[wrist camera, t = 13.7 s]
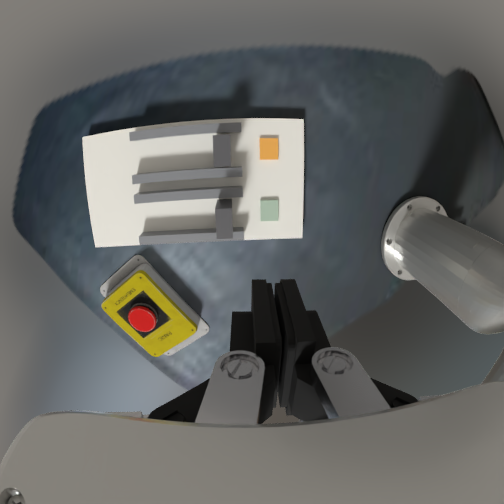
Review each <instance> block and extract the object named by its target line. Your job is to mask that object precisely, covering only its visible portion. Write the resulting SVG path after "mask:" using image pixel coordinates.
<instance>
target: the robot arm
mask: <svg viewBox="0 0 504 504" xmlns="http://www.w3.org/2000/svg"><path fill="white" fill-rule="evenodd" d="M381 251H382V257H383V260H384V263H385V265H386V266H387V268H388V269H389V270H390V271H391V272H392V273H393V274H394V275H395V276H396V277H398V278H401V279H403V280H415V279H416V280H418V281H419V282H420V283H421V284H422V285H423V286H424V287H426V288H427V289H428V290H429V291H430V292H431V293H432V294H434V295H435V296H436V297H437V298H438V299H439V300H440V301H441V302H443V303H444V304H445V305H446V306H447V307H448V308H449V309H450V310H451V311H452V312H453V313H454V314H455V315H456V316H458V317H459V318H460V319H461V320H462V321H463V322H464V323H465V324H466V325H467V326H468V327H470V328H471V329H472V330H474V331H476V332H479V333H482V334H494V333H499V332H504V245H503V244H501V243H500V242H498V241H496V240H494V239H492V238H490V237H488V236H486V235H484V234H482V233H480V232H478V231H476V230H474V229H472V228H470V227H468V226H466V225H464V224H462V223H460V222H457V221H455V220H453V219H451V218H449V217H448V216H447V214H446V211H445V210H444V208H443V207H442V205H441V204H439V203H438V202H437V201H436V200H434V199H432V198H429V197H425V196H416V197H412V198H410V199H407V200H405V201H404V202H403V203H401V204H400V205H399V206H398V207H397V208H396V209H395V210H394V211H393V213H392V214H391V215H390V217H389V219H388V221H387V223H386V225H385V228H384V231H383V234H382V240H381ZM277 392H278V396H279V403H280V407H285V408H286V414H287V415H294V416H295V417H297V418H299V419H300V420H299V422H294V423H293V422H292V423H278V424H277V423H275V424H262V423H263V422H264V421H265V420H267V419H268V418H269V417H270V416H271V415H272V410H273V408H275V407H276V401H277ZM0 504H504V348H503V351H502V353H501V354H500V356H499V358H498V359H497V361H496V362H495V364H494V365H493V367H492V369H491V370H490V372H489V373H488V375H487V376H486V378H485V379H484V380H483V382H482V383H481V384H480V385H475V386H471V387H468V388H465V389H462V390H458V391H455V392H451V393H448V394H445V395H440V396H439V395H438V396H422V397H419V399H418V400H417V399H416V398H415V397H413V396H411V395H409V394H407V393H405V392H402V391H400V390H398V389H395V388H393V387H391V386H388V385H386V384H383V383H381V382H379V381H376V380H374V379H372V378H370V377H369V376H368V374H367V373H366V372H365V370H364V369H363V367H362V366H361V364H360V363H359V362H358V360H357V359H356V357H355V356H354V355H353V354H352V353H350V352H349V351H347V350H344V349H341V348H335V347H331V346H330V344H329V341H328V339H327V336H326V334H325V331H324V329H323V326H322V324H321V321H320V319H319V316H318V314H317V312H316V311H315V310H313V311H306V309H305V307H304V304H303V301H302V298H301V295H300V293H299V290H298V287H297V284H296V281H295V279H281V280H280V283H275V294H274V295H273V289H272V284H271V283H266V280H252V306H251V312H232V324H231V341H230V352H228V353H225V354H223V355H222V356H221V357H219V358H218V360H217V361H216V363H215V366H214V369H213V372H212V374H211V377H210V379H208V380H206V381H205V382H203V383H201V384H199V385H198V386H196V387H194V388H193V389H191V390H189V391H187V392H186V393H184V394H182V395H180V396H179V397H177V398H175V399H173V400H171V401H169V402H168V403H166V404H164V405H162V406H160V407H158V408H157V409H155V410H154V411H152V412H151V413H150V415H142V412H94V411H72V410H71V411H57V412H50V413H46V414H42V415H39V416H37V417H35V418H33V419H32V420H31V421H29V422H28V423H27V424H26V425H25V426H24V427H23V429H22V430H21V431H20V433H19V434H18V435H17V437H16V438H15V439H14V441H13V442H12V444H11V446H10V447H9V449H8V451H7V452H6V454H5V456H4V458H3V460H2V462H1V464H0Z"/></svg>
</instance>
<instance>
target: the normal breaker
mask: <svg viewBox="0 0 504 504" xmlns="http://www.w3.org/2000/svg"><path fill="white" fill-rule="evenodd" d="M215 218H216V236H217V239H232V238H233V218H232V199H217V203H216V207H215Z"/></svg>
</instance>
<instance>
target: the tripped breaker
mask: <svg viewBox="0 0 504 504" xmlns="http://www.w3.org/2000/svg"><path fill="white" fill-rule="evenodd" d="M213 160H214V167H226V166H231V137H230V134H227V135H213Z"/></svg>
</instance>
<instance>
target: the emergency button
mask: <svg viewBox="0 0 504 504" xmlns="http://www.w3.org/2000/svg"><path fill="white" fill-rule="evenodd" d="M100 291H101V293H102V295H103V296H104V297H105V299H104V301H103V303H102V308H103V310H104V311H105V312H106V313H107V314H108V315H109V316H110V317H111V318H112V319H113V320H114V321H115V322H116V323H117V324H118V325H119V326H120V327H121V328H122V329H123V330H124V331H125V332H126V333H127V334H128V335H129V336H131V337H132V338H133V339H134V340H135V341H136V342H137V343H138V344H139V345H140V346H141V347H143V348H144V349H145V350H146V351H147V352H148V353H149V354H150V355H152V356H154V357H158V356H160V355H162V354H165V355H168V356H169V355H172V354H174V353H176V352H177V351H179V350H181V349H182V348H184V347H186V346H187V345H189V344H191V343H192V342H194V341H195V340H197V339H199V338H200V337H202V336H203V335H205V334H207V333H208V332H209V326H208V325H207V324H206V323H205V322H204V321H203V320H202V319H201V318H200V317H199V316H198V315H197V313H196V312H195V311H194V310H193V309H192V308H191V307H190V306H189V305H188V304H187V303H186V302H185V301H184V300H183V299H182V298H181V297H180V296H179V295H178V294H177V293H176V292H175V291H174V290H173V289H172V288H171V286H170V285H169V284H168V283H167V282H166V281H165V280H164V279H163V278H162V277H161V276H160V275H159V273H158V272H157V271H156V270H155V269H154V268H153V267H152V266H151V265H150V263H149V262H148V261H147V260H146V259H145V258H144V257H143V256H141V255H135V256H134V257H132V258H131V259H130V260H129V261H128V262H127V263H126V264H125V265H123V266H122V267H121V268H120V269H119V270H118V271H117V272H116V273H115V274H114V275H112V276H111V277H110V278H109V279H108V280H107V281H106V282H105V283H104V284H103V285H102V286H101V288H100Z"/></svg>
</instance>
